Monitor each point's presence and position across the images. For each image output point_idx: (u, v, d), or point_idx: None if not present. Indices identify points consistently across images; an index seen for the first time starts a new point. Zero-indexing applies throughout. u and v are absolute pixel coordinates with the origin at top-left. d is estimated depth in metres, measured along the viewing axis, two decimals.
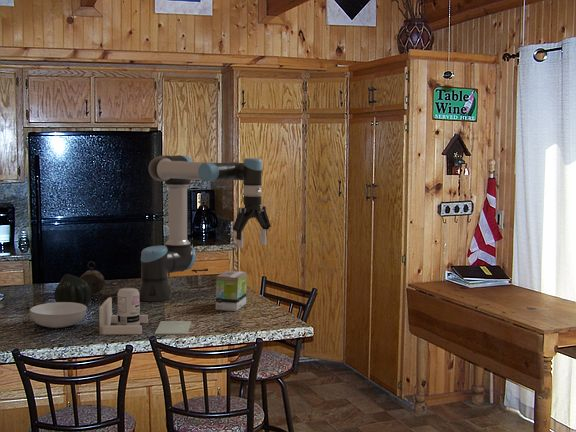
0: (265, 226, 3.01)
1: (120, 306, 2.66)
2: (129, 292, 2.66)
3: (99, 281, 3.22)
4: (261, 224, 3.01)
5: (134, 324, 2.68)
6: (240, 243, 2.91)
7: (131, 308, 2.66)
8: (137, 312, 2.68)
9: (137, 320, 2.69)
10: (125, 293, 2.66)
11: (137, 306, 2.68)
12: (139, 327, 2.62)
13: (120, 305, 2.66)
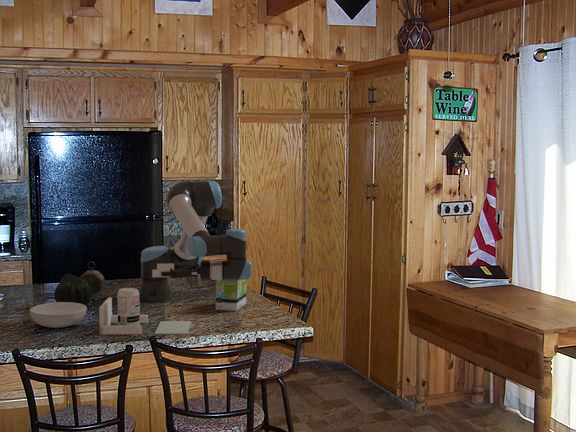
0: (177, 270, 2.77)
1: (120, 306, 2.66)
2: (129, 292, 2.66)
3: (99, 281, 3.22)
4: (179, 267, 2.75)
5: (134, 324, 2.68)
6: (157, 274, 2.62)
7: (131, 308, 2.66)
8: (137, 312, 2.68)
9: (137, 320, 2.69)
10: (125, 293, 2.66)
11: (137, 306, 2.68)
12: (139, 327, 2.62)
13: (120, 305, 2.66)
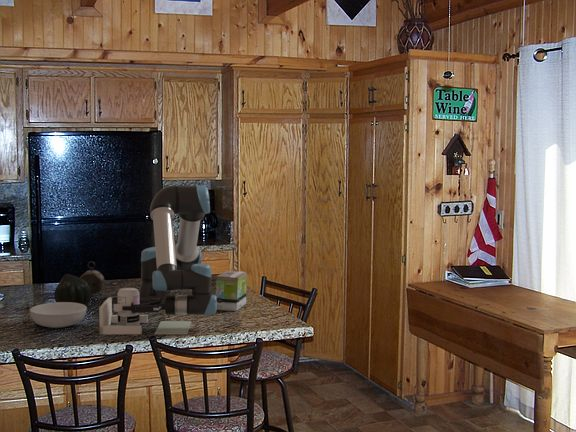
0: None
1: None
2: (129, 292, 2.66)
3: (99, 281, 3.22)
4: (141, 302, 2.74)
5: (134, 324, 2.68)
6: (118, 309, 2.65)
7: None
8: None
9: (137, 320, 2.69)
10: (125, 293, 2.66)
11: None
12: (139, 327, 2.62)
13: None
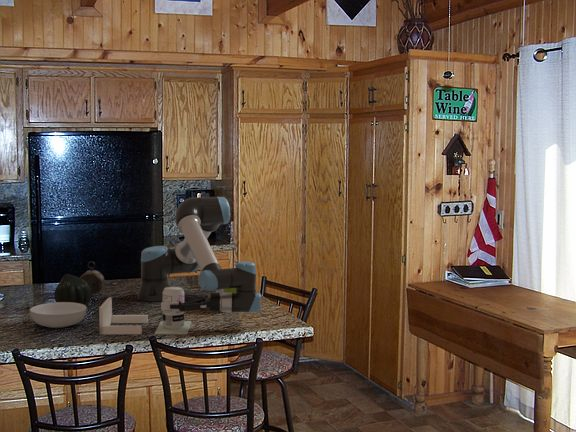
0: (185, 302, 2.77)
1: None
2: (175, 291, 2.67)
3: (99, 281, 3.22)
4: (187, 299, 2.76)
5: (179, 323, 2.69)
6: (165, 307, 2.64)
7: None
8: (182, 311, 2.69)
9: (182, 319, 2.70)
10: (171, 292, 2.67)
11: None
12: (139, 327, 2.62)
13: None
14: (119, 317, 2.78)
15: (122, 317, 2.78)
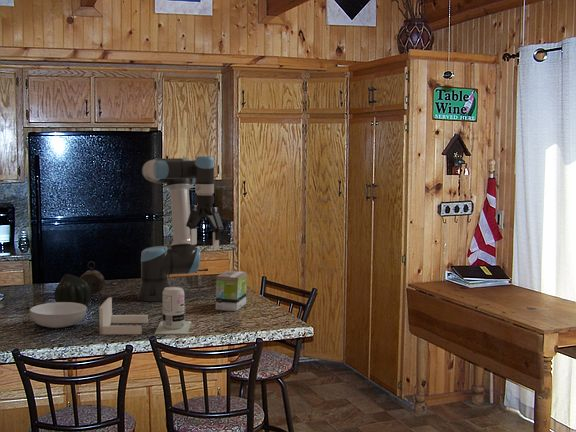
0: (213, 229, 2.83)
1: (165, 305, 2.67)
2: (175, 291, 2.67)
3: (99, 281, 3.22)
4: None
5: (179, 323, 2.69)
6: None
7: (176, 307, 2.67)
8: (182, 311, 2.69)
9: (182, 319, 2.70)
10: (171, 292, 2.67)
11: (182, 305, 2.69)
12: (139, 327, 2.62)
13: (165, 304, 2.67)
14: (119, 317, 2.78)
15: (122, 317, 2.78)
